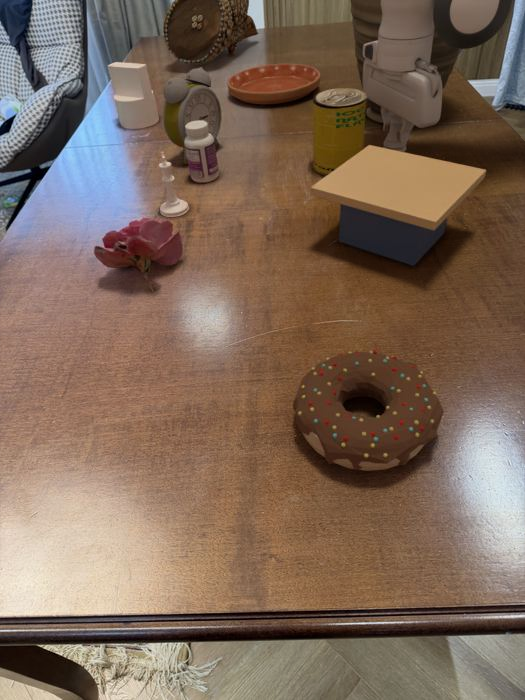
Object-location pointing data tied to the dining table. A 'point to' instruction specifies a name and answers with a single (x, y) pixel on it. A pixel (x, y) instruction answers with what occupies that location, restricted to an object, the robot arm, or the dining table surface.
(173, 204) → the chess piece
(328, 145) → the beverage can
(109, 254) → the flower
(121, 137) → the dining table surface
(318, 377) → the donut
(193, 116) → the alarm clock
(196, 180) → the pill bottle
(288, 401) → the dining table surface
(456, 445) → the dining table surface
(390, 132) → the rook chess piece
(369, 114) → the vase
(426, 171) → the board box
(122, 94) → the cylinder with rectangular tab
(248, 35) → the basket
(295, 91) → the saucer
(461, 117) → the dining table surface
